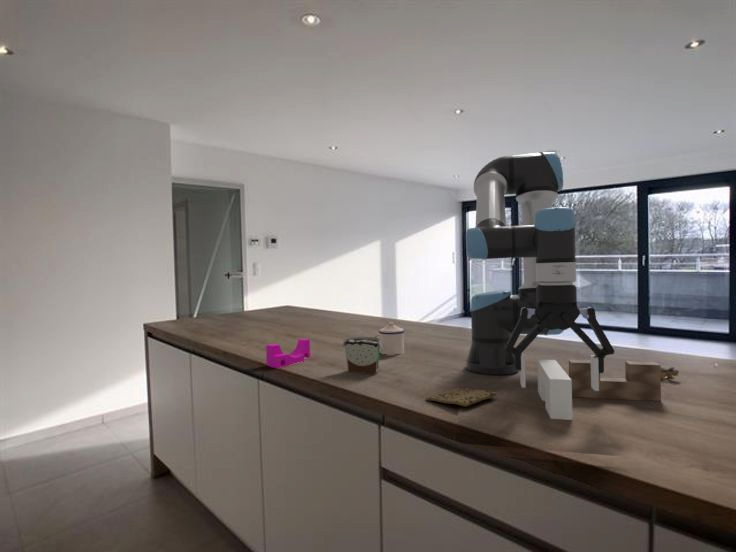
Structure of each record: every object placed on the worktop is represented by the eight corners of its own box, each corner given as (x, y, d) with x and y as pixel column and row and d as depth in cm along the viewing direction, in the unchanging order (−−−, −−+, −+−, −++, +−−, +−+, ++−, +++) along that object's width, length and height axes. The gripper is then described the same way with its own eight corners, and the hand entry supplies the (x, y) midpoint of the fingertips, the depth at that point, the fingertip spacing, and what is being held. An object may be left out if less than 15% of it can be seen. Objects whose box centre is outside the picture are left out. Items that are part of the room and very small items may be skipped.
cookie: (457, 389, 106) (456, 381, 106) (498, 400, 96) (498, 391, 96) (424, 400, 98) (424, 391, 98) (466, 412, 89) (465, 403, 89)
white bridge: (572, 420, 82) (571, 379, 82) (550, 418, 83) (549, 379, 83) (556, 393, 99) (555, 359, 99) (538, 392, 100) (537, 359, 100)
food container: (388, 370, 126) (388, 337, 126) (381, 375, 121) (380, 341, 121) (352, 367, 131) (352, 335, 131) (343, 371, 126) (342, 339, 126)
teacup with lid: (409, 353, 150) (408, 321, 150) (397, 358, 142) (396, 324, 142) (380, 350, 156) (379, 320, 156) (367, 355, 149) (366, 323, 148)
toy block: (277, 370, 130) (277, 347, 130) (266, 368, 135) (266, 345, 134) (314, 362, 141) (314, 340, 141) (303, 359, 145) (302, 338, 145)
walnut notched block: (572, 396, 96) (571, 362, 96) (569, 393, 99) (568, 359, 99) (661, 401, 91) (660, 365, 91) (655, 396, 94) (654, 362, 94)
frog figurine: (685, 378, 110) (685, 364, 110) (676, 388, 102) (675, 373, 102) (635, 371, 118) (635, 358, 118) (623, 380, 110) (622, 366, 110)
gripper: (493, 285, 84) (495, 389, 85) (631, 283, 78) (633, 395, 78) (491, 284, 92) (494, 380, 92) (618, 282, 85) (620, 385, 85)
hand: (558, 387), depth 85 cm, fingers open, 13 cm apart
